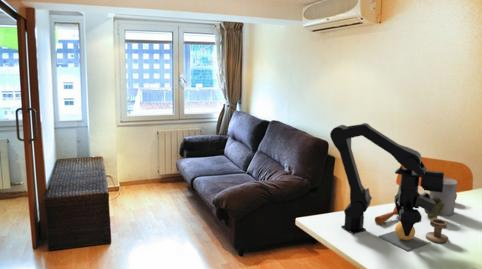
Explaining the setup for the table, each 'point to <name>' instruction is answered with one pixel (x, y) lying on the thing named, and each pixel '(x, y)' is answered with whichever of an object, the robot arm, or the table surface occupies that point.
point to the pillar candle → (447, 196)
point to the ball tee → (437, 231)
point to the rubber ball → (401, 234)
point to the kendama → (385, 217)
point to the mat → (405, 241)
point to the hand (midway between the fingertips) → (404, 230)
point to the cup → (436, 209)
